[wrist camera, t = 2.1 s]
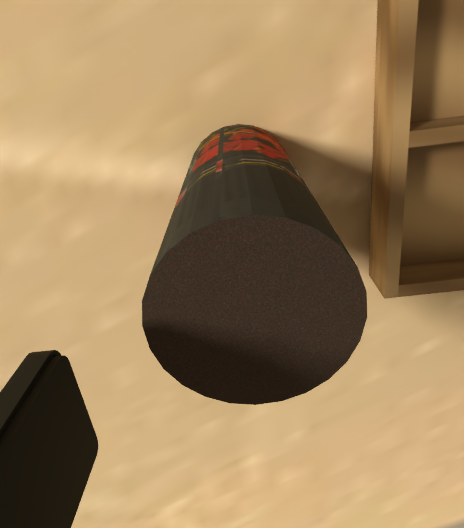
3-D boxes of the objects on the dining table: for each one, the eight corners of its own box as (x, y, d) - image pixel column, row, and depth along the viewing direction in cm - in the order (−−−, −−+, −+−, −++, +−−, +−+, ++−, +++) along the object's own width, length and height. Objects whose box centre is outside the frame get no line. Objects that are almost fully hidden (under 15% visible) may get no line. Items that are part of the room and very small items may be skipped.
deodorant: (310, 173, 24) (414, 314, 11) (241, 241, 26) (256, 433, 13) (237, 100, 22) (251, 161, 9) (168, 179, 24) (95, 327, 11)
